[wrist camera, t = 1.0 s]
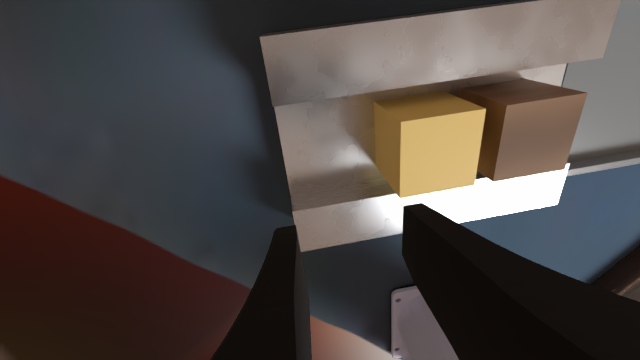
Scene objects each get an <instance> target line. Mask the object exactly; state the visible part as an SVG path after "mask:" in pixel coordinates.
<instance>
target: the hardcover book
mask: <svg viewBox="0 0 640 360" xmlns="http://www.w3.org/2000/svg"><path fill="white" fill-rule="evenodd" d="M591 285H593V286H595V287H598V288H601V289H604V290H607V291H609V292H612V293H615V294H618V295H621V296H624V297H627V298H630V299H633V300H636V301H639V302H640V246H639V247H638V248H636V249H635V250H634V251H633V252H631V253H630V254H629V255H627V256H626V257H625V258H624V259H622V260H621V261H620V262H619V263H617V264H616V265H615V266H614V267H612V268H611V269H610V270H609V271H607V272H606V273H605V274H603V275H602V276H601V277H600V278H598V279H597V280H596V281H595V282H593V283H592V284H591Z"/></svg>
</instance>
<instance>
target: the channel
mask: <svg viewBox="0 0 640 360" xmlns="http://www.w3.org/2000/svg"><path fill="white" fill-rule="evenodd" d="M620 1H621V0H519V1H511V2H503V3H496V4H488V5H480V6H473V7H465V8H457V9H449V10H442V11H434V12H426V13H419V14H411V15H403V16H396V17H388V18H380V19H372V20H365V21H357V22H349V23H342V24H334V25H326V26H319V27H311V28H303V29H295V30H288V31H280V32H272V33H265V34H261V36H260V42H261V47H262V52H263V58H264V63H265V69H266V74H267V79H268V85H269V90H270V95H271V101H272V106H273V107H274V109H275V114H276V119H277V125H278V130H279V136H280V141H281V147H282V152H283V157H284V163H285V168H286V174H287V179H288V184H289V190H290V196H291V205H292V213H293V218H294V223H295V225H296V228H297V234H298V239H299V244H300V250H301V252H304V251H309V250H314V249H320V248H325V247H331V246H336V245H341V244H347V243H352V242H358V241H363V240H369V239H374V238H379V237H385V236H390V235H396V234H401V233H403V206H406V205H412V204H417V203H423V204H425V205H427V206H429V207H430V208H432V209H434V210H436V211H437V212H439V213H441V214H443V215H444V216H446V217H448V218H450V219H451V220H453V221H455V222H457V223H460V222H466V221H471V220H477V219H482V218H487V217H493V216H498V215H504V214H509V213H515V212H520V211H525V210H531V209H536V208H542V207H547V206H552V205H557V204H558V201H559V197H560V194H561V191H562V188H563V184H564V181H565V178H566V175H567V172H568V168H569V165H570V163H568V162H567V163H566V166H565V169H564V170H558V171H553V172H547V173H541V174H536V175H530V176H524V177H519V178H513V179H507V180H502V181H496V182H492V181H491V180H489V179H488V178H487V177H485V176H484V175H483V174H481V173H480V172H478V171H477V173H476V180H475V185H473V186H468V187H462V188H456V189H451V190H445V191H439V192H433V193H428V194H422V195H416V196H411V197H405V198H399V197H398V195H397V194H396V193H395V191H394V190H393V189H392V187H391V186H390V184H389V183H388V182H387V180H386V179H385V178H384V176H383V175H382V173H381V172H380V171H379V169H378V168H377V167H376V161H375V123H374V101H378V100H385V99H392V98H398V97H405V96H412V95H418V94H425V93H432V92H438V91H444V92H446V93H449V94H451V95H454V96H456V97H458V94H459V88H465V87H471V86H478V85H485V84H491V83H498V82H505V81H511V80H518V79H529V80H533V81H538V82H542V83H547V84H551V85H556V86H560V87H561V84H562V80H563V76H564V72H565V68H566V65H567V63H572V62H579V61H586V60H593V59H599V58H603V56H604V53H605V49H606V46H607V43H608V40H609V37H610V33H611V30H612V27H613V24H614V21H615V17H616V14H617V11H618V8H619V4H620Z"/></svg>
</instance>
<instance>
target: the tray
mask: <svg viewBox="0 0 640 360" xmlns="http://www.w3.org/2000/svg"><path fill="white" fill-rule="evenodd" d="M561 87H564V88H569V89H573V90H578V91H582V92H587V93H588V94H587V97H586V100H585V104H584V107H583V110H582V113H581V117H580V120H579V123H578V127H577V130H576V133H575V136H574V140H573V143H572V146H571V150H570V153H569V156H568V159H567V162H568V163H570V165H569V168H568V172H567V175H566V176H571V175H577V174H583V173H588V172H594V171H600V170H605V169H611V168H616V167H622V166H628V165H633V164H639V163H640V0H621V1H620V4H619V8H618V11H617V14H616V17H615V21H614V24H613V27H612V30H611V33H610V37H609V40H608V43H607V46H606V49H605V53H604V56H603V58H599V59H593V60H586V61H579V62H572V63H567V65H566V68H565V72H564V76H563V80H562V84H561Z"/></svg>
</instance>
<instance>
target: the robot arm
mask: <svg viewBox="0 0 640 360" xmlns="http://www.w3.org/2000/svg"><path fill="white" fill-rule="evenodd" d="M402 255H403V258H404V260H405V262H406V265H407V267H408V270H409V272H410V274H411V276H412V279H413V281H414V283H415V285H416V286H412V287H407V288H402V289H397V290H394V291H393V292H392V294H391V354H392V357H393V358H401V357H403V359H404V360H640V302H639V301H636V300H633V299H630V298H627V297H624V296H621V295H618V294H615V293H612V292H609V291H607V290H604V289H601V288H598V287H595V286H593V285H590V284H587V283H584V282H582V281H579V280H576V279H574V278H571V277H568V276H566V275H563V274H561V273H559V272H556V271H554V270H551V269H549V268H547V267H544V266H542V265H540V264H537V263H535V262H533V261H530V260H528V259H526V258H524V257H522V256H519V255H517V254H515V253H513V252H511V251H509V250H507V249H505V248H503V247H501V246H499V245H497V244H495V243H493V242H491V241H489V240H487V239H485V238H484V237H482V236H480V235H478V234H476V233H474V232H473V231H471V230H469V229H467V228H465V227H464V226H462V225H460V224H458V223H457V222H455V221H453V220H451V219H450V218H448V217H446V216H444V215H443V214H441V213H439V212H437V211H436V210H434V209H432V208H430V207H429V206H427V205H425V204H423V203H417V204H412V205H406V206H403V237H402ZM210 360H312V354H311V332H310V311H309V298H308V292H307V285H306V278H305V271H304V266H303V261H302V255H301V250H300V244H299V239H298V234H297V228H296V225H294V226H288V227H282V228H277V229H276V230H275V231H274V234H273V238H272V241H271V244H270V247H269V250H268V253H267V255H266V258H265V261H264V263H263V265H262V268H261V270H260V272H259V275H258V277H257V279H256V282H255V284H254V286H253V288H252V290H251V292H250V294H249V296H248V298H247V300H246V302H245V304H244V306H243V307H242V309H241V311H240V313H239V315H238V316H237V318H236V320H235V322H234V323H233V325H232V327H231V328H230V330H229V332H228V333H227V335H226V337H225V338H224V340H223V341H222V343H221V344H220V346H219V347H218V349H217V351H216V352H215V353H214V355H213V356H212V358H211V359H210Z"/></svg>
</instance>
